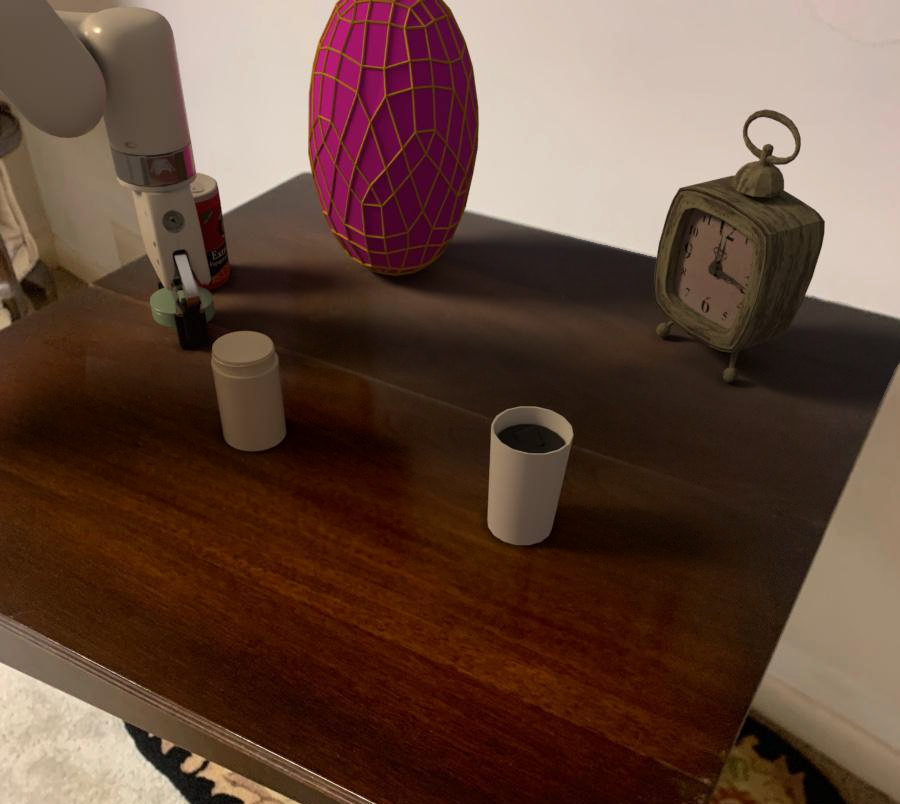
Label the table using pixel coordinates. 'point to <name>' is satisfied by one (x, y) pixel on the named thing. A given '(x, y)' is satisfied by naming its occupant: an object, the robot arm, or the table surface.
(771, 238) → the tabletop clock
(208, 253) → the canned food
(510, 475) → the white cup
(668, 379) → the table surface
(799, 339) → the table surface
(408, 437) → the table surface
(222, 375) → the jar
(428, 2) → the decorative egg
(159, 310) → the lid
